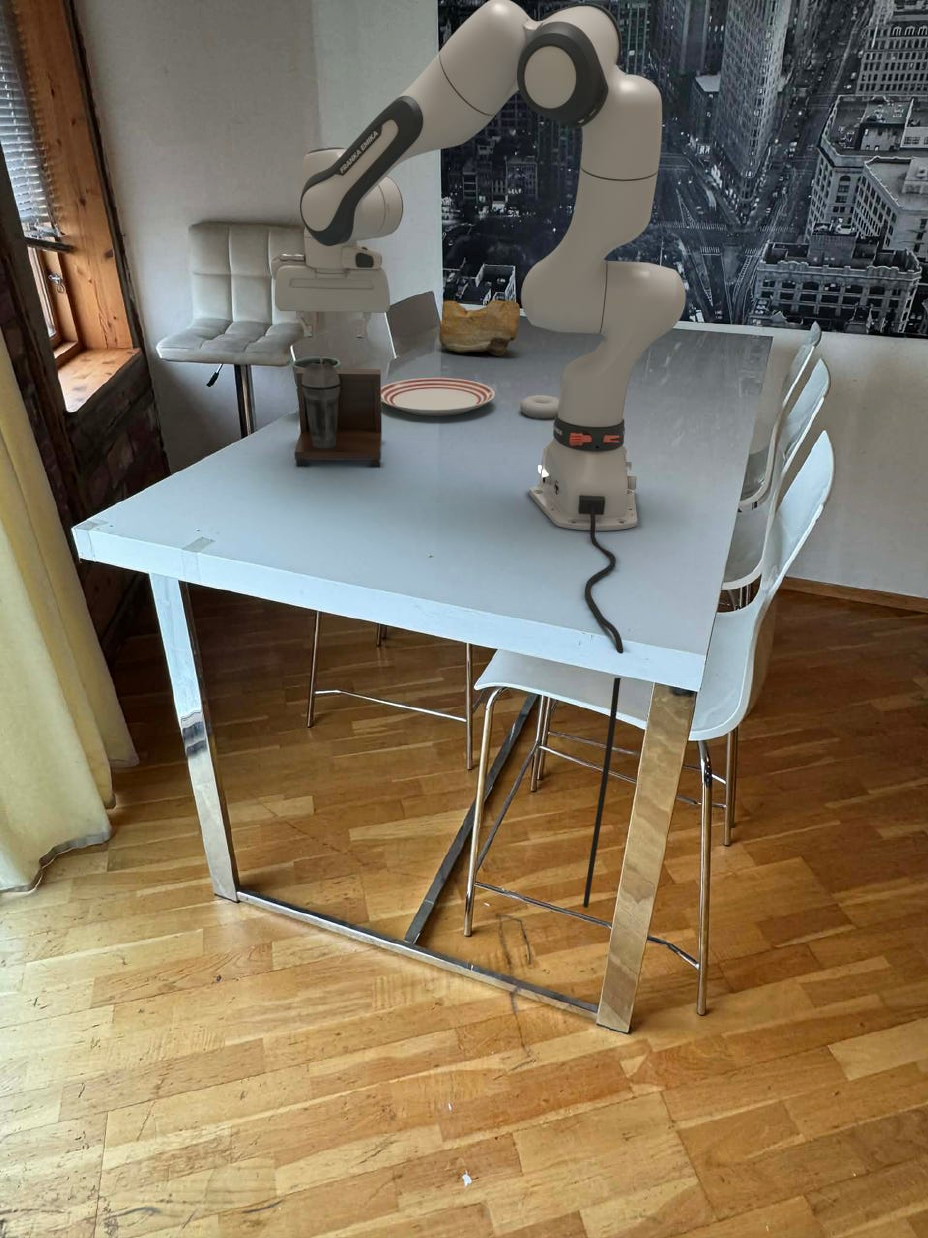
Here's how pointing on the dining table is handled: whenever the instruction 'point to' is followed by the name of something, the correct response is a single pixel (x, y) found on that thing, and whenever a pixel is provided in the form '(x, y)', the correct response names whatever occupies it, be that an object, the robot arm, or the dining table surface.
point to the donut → (540, 406)
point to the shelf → (347, 419)
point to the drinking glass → (306, 361)
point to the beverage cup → (321, 400)
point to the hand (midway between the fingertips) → (334, 337)
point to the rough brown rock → (479, 327)
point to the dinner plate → (436, 396)
